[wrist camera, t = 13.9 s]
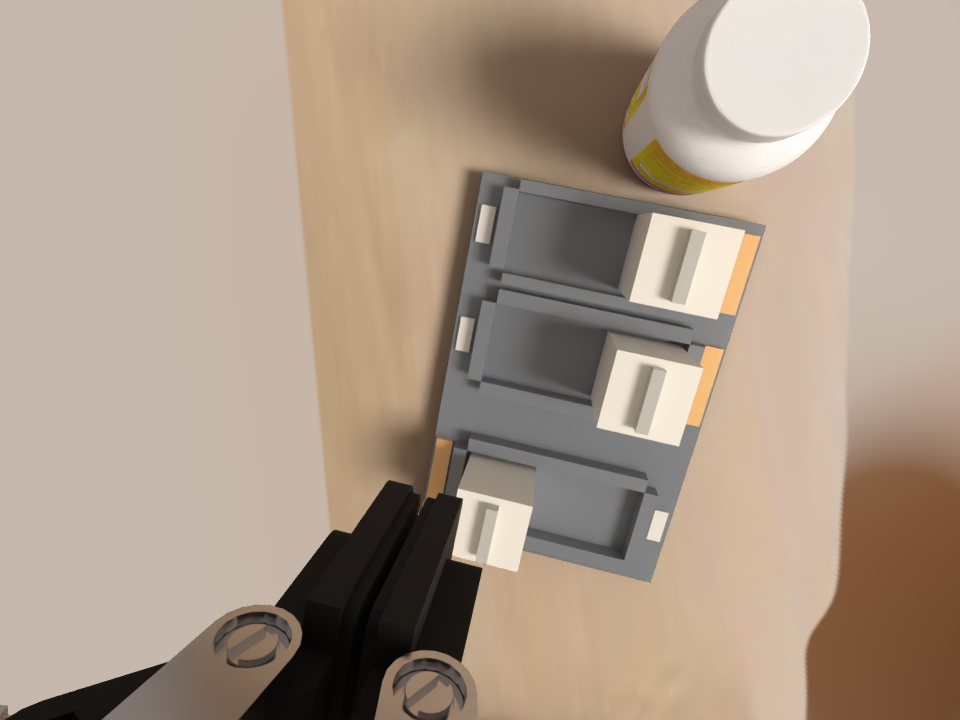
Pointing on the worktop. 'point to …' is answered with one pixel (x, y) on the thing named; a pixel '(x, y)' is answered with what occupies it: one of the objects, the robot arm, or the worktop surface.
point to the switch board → (583, 356)
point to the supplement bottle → (742, 90)
